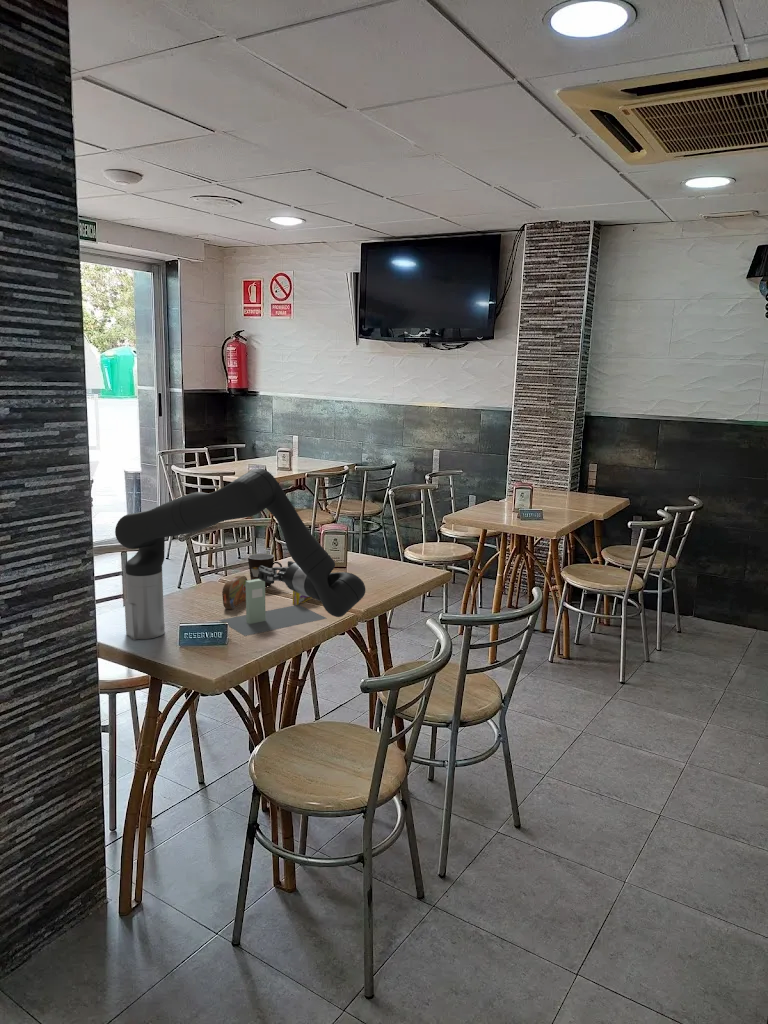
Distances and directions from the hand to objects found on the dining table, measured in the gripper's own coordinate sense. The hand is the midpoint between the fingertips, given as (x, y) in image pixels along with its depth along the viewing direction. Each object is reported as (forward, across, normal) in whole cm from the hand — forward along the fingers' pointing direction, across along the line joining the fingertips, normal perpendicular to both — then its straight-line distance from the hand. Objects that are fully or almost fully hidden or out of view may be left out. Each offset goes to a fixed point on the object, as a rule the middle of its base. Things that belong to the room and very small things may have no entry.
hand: (274, 567), depth 194 cm
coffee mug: (+44, -20, +19) cm, 52 cm away
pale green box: (+11, 0, +18) cm, 21 cm away
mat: (+10, -5, +19) cm, 22 cm away
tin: (+30, -3, +19) cm, 36 cm away
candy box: (+24, -24, +19) cm, 39 cm away
